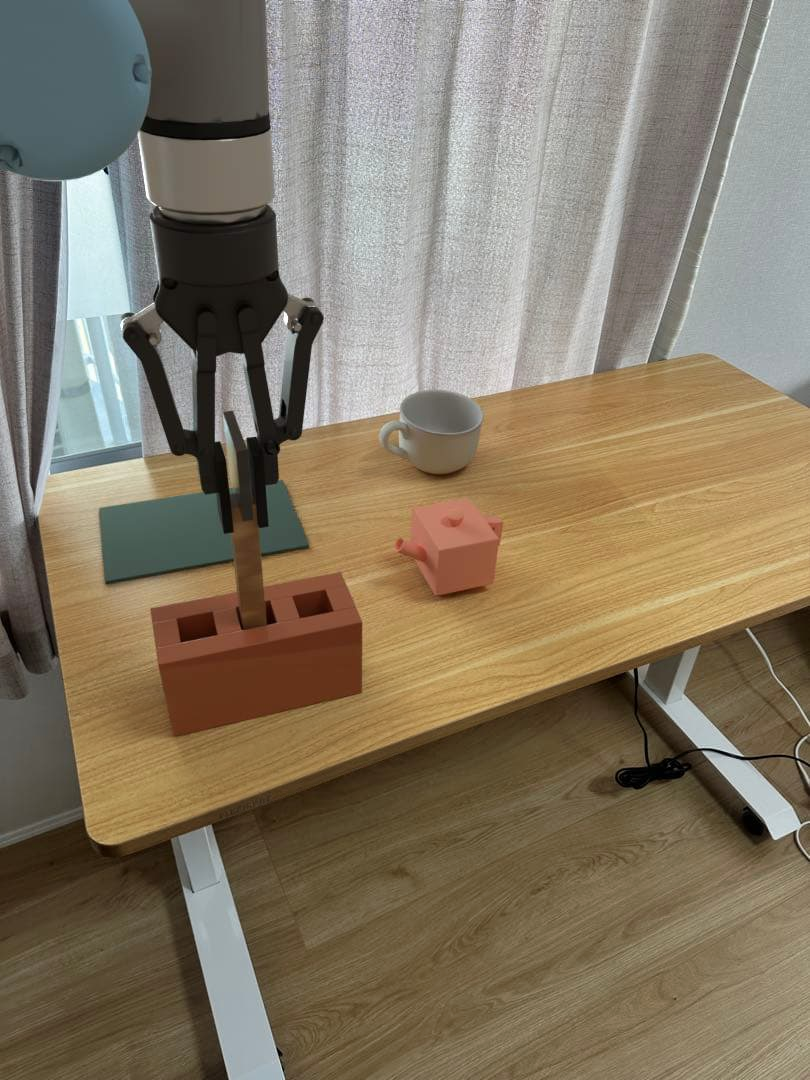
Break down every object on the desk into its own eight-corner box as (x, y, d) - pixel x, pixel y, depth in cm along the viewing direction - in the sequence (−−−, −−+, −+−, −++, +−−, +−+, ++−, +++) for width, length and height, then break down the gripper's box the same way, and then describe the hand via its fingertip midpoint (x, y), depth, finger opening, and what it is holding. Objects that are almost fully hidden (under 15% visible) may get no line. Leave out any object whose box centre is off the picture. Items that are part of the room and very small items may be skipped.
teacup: (460, 437, 112) (465, 384, 107) (491, 478, 104) (497, 423, 99) (364, 450, 108) (364, 397, 103) (388, 494, 100) (390, 438, 95)
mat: (105, 584, 85) (105, 581, 85) (99, 510, 95) (99, 507, 95) (309, 547, 91) (309, 545, 91) (282, 482, 102) (282, 479, 101)
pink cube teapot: (381, 564, 89) (383, 503, 84) (480, 544, 93) (487, 484, 88) (405, 609, 84) (408, 547, 79) (509, 587, 87) (519, 525, 82)
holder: (362, 692, 74) (362, 621, 69) (173, 737, 70) (158, 664, 64) (341, 641, 80) (340, 571, 74) (165, 679, 75) (150, 607, 69)
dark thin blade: (249, 657, 68) (227, 452, 55) (236, 611, 72) (214, 412, 60) (272, 652, 68) (256, 448, 56) (259, 607, 73) (241, 409, 61)
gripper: (318, 183, 54) (324, 480, 68) (78, 193, 49) (139, 508, 64) (349, 216, 48) (349, 532, 62) (82, 230, 44) (148, 566, 58)
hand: (243, 519), depth 63 cm, fingers closed on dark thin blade, 2 cm apart
